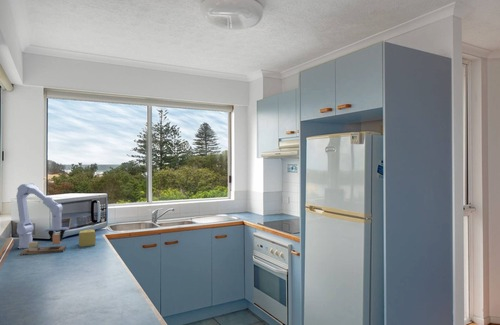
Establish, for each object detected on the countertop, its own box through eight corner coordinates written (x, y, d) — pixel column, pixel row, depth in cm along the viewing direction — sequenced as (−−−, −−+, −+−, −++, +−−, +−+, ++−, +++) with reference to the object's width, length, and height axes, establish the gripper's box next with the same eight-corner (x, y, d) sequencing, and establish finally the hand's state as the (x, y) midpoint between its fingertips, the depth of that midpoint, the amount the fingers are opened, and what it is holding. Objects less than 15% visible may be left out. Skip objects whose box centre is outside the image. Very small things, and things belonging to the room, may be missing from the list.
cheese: (79, 243, 250) (79, 230, 250) (95, 242, 255) (95, 228, 255) (78, 247, 241) (78, 232, 241) (95, 245, 245) (95, 231, 245)
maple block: (30, 251, 229) (30, 241, 229) (38, 251, 230) (38, 241, 230) (28, 253, 225) (28, 243, 224) (36, 252, 226) (36, 242, 226)
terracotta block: (53, 243, 241) (53, 233, 241) (61, 242, 243) (61, 233, 243) (52, 244, 237) (52, 235, 237) (59, 244, 238) (59, 234, 238)
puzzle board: (25, 250, 231) (25, 248, 231) (65, 247, 238) (65, 245, 238) (20, 255, 220) (20, 252, 220) (62, 251, 228) (62, 249, 228)
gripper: (69, 220, 246) (69, 239, 246) (46, 221, 241) (46, 240, 241) (67, 221, 239) (67, 241, 239) (43, 223, 234) (43, 243, 234)
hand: (56, 241), depth 240 cm, fingers closed on terracotta block, 4 cm apart
